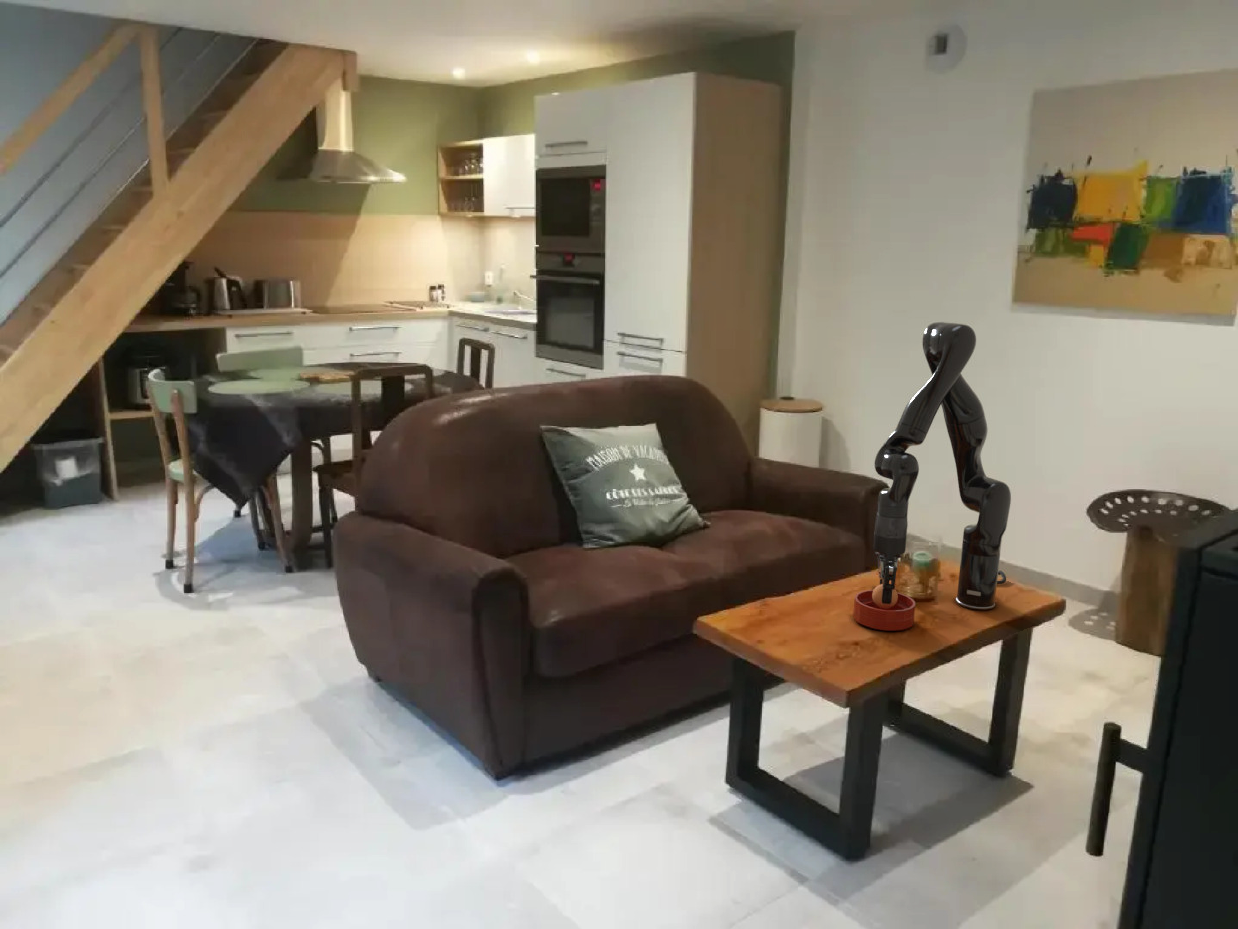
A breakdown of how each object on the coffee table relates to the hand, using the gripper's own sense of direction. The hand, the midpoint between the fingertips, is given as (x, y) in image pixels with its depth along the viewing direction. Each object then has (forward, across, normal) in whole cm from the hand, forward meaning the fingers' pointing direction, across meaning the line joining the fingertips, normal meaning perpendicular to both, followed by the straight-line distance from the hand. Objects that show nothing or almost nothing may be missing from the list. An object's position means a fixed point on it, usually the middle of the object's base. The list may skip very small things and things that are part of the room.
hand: (884, 598), depth 236 cm
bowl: (+6, 0, 0) cm, 6 cm away
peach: (+2, 0, 0) cm, 2 cm away
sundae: (+6, +23, -3) cm, 24 cm away
